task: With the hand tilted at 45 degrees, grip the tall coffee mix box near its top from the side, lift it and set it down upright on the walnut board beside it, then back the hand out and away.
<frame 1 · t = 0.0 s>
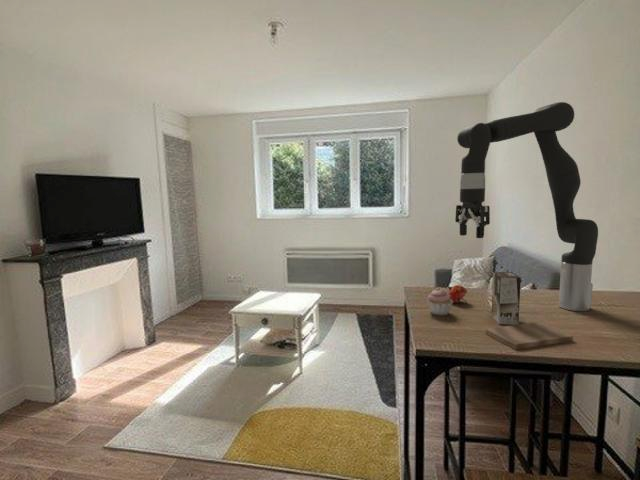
hand: (471, 236, 116), 29 cm above the table, tool pointing down, fingers open, 8 cm apart
cupcake: (439, 313, 129), on the table
walnut board: (527, 337, 106), on the table
coffee box: (504, 320, 120), on the table
pomegranate: (457, 302, 141), on the table
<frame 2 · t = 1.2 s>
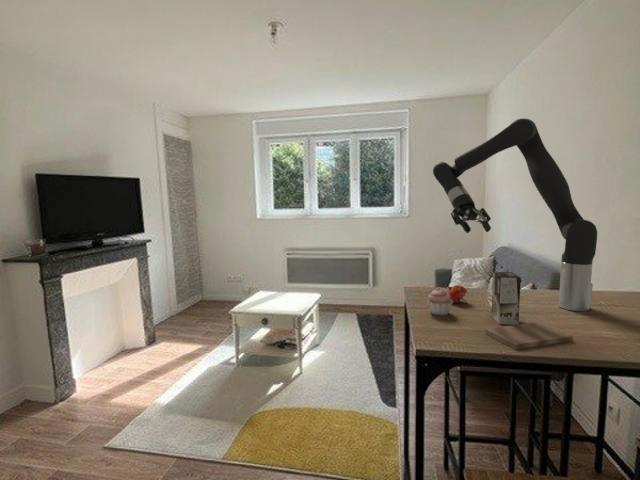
hand: (479, 231, 130), 29 cm above the table, tool tilted 45°, fingers open, 8 cm apart
nothing on the table moved.
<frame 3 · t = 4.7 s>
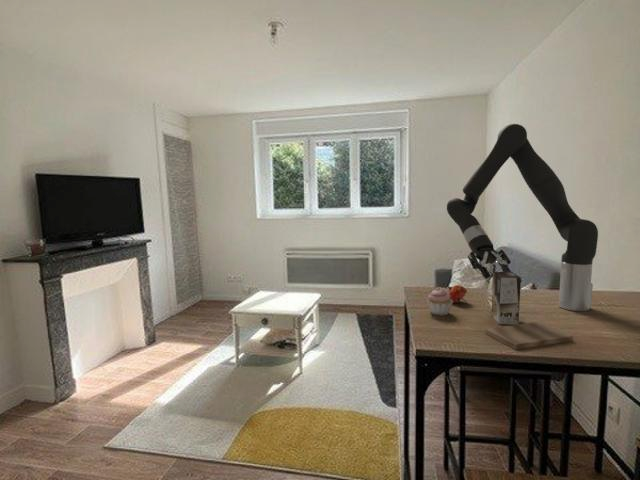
hand: (498, 276, 122), 14 cm above the table, tool tilted 45°, fingers open, 8 cm apart
coffee box: (504, 320, 120), on the table, touching gripper
everything else where it was.
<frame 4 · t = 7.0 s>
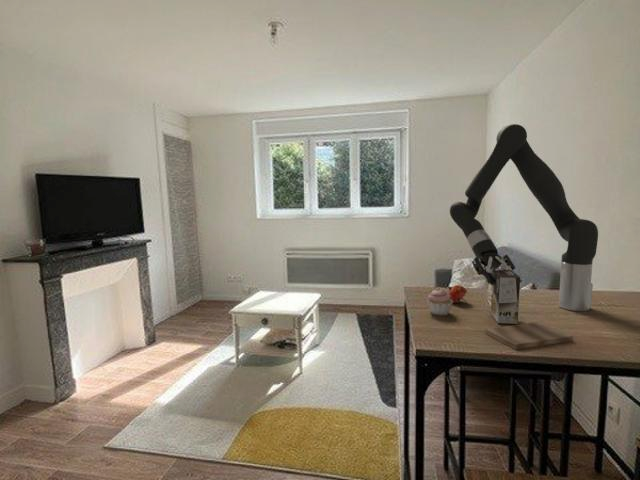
hand: (503, 282, 120), 13 cm above the table, tool tilted 45°, fingers closed on coffee box, 7 cm apart
coffee box: (503, 318, 120), on the table, touching gripper
everything else where it was.
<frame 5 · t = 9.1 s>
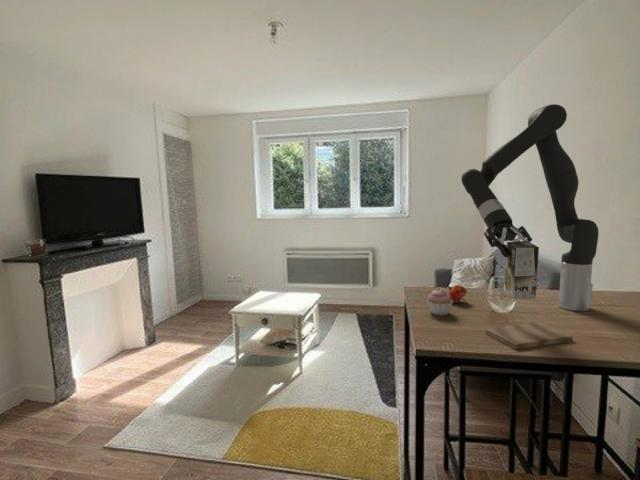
hand: (519, 255, 108), 24 cm above the table, tool tilted 45°, fingers closed on coffee box, 7 cm apart
coffee box: (519, 295, 109), point 12 cm above the table, touching gripper
everything else where it was.
when the fingers open (15 cm above the table, at t = 12.3 s): coffee box drops 1 cm, resting on walnut board.
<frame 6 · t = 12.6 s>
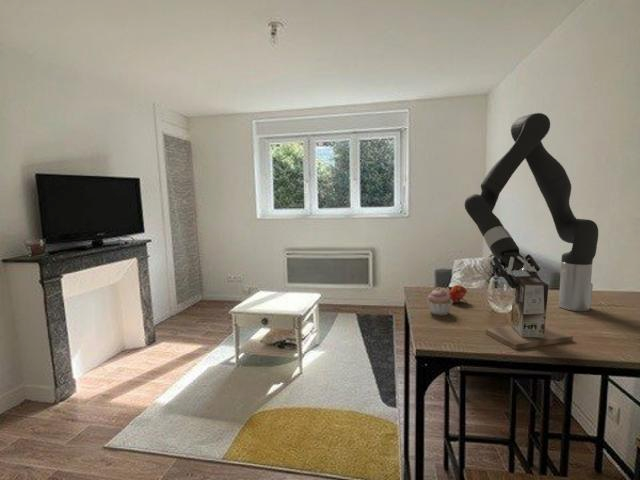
hand: (527, 286, 105), 16 cm above the table, tool tilted 45°, fingers open, 8 cm apart
coffee box: (526, 331, 106), point 2 cm above the table, touching gripper, walnut board
everything else where it was.
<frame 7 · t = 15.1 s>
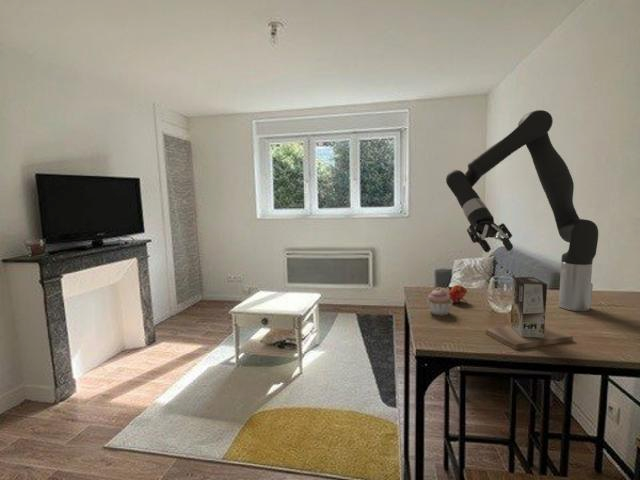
hand: (499, 250, 115), 25 cm above the table, tool tilted 45°, fingers open, 8 cm apart
coffee box: (526, 332, 106), point 1 cm above the table, touching walnut board
everything else where it was.
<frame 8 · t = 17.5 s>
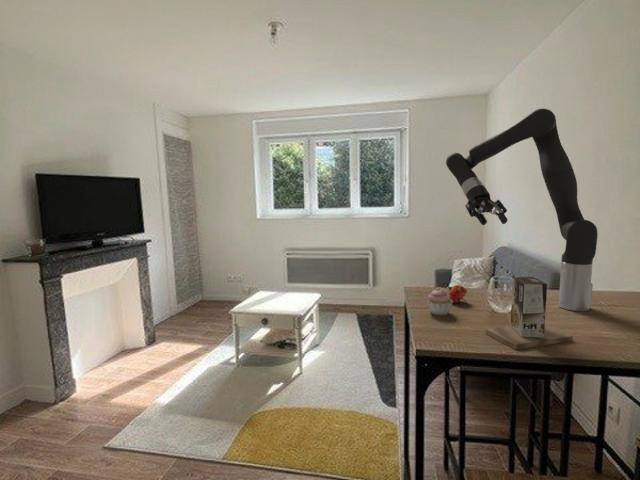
hand: (495, 223, 126), 33 cm above the table, tool tilted 45°, fingers open, 8 cm apart
nothing on the table moved.
at the end: coffee box inside the target area on the walnut board (0.5 cm from its centre), point 1.3 cm above the walnut board's base; coffee box tilted 0°; the gripper is holding nothing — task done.
